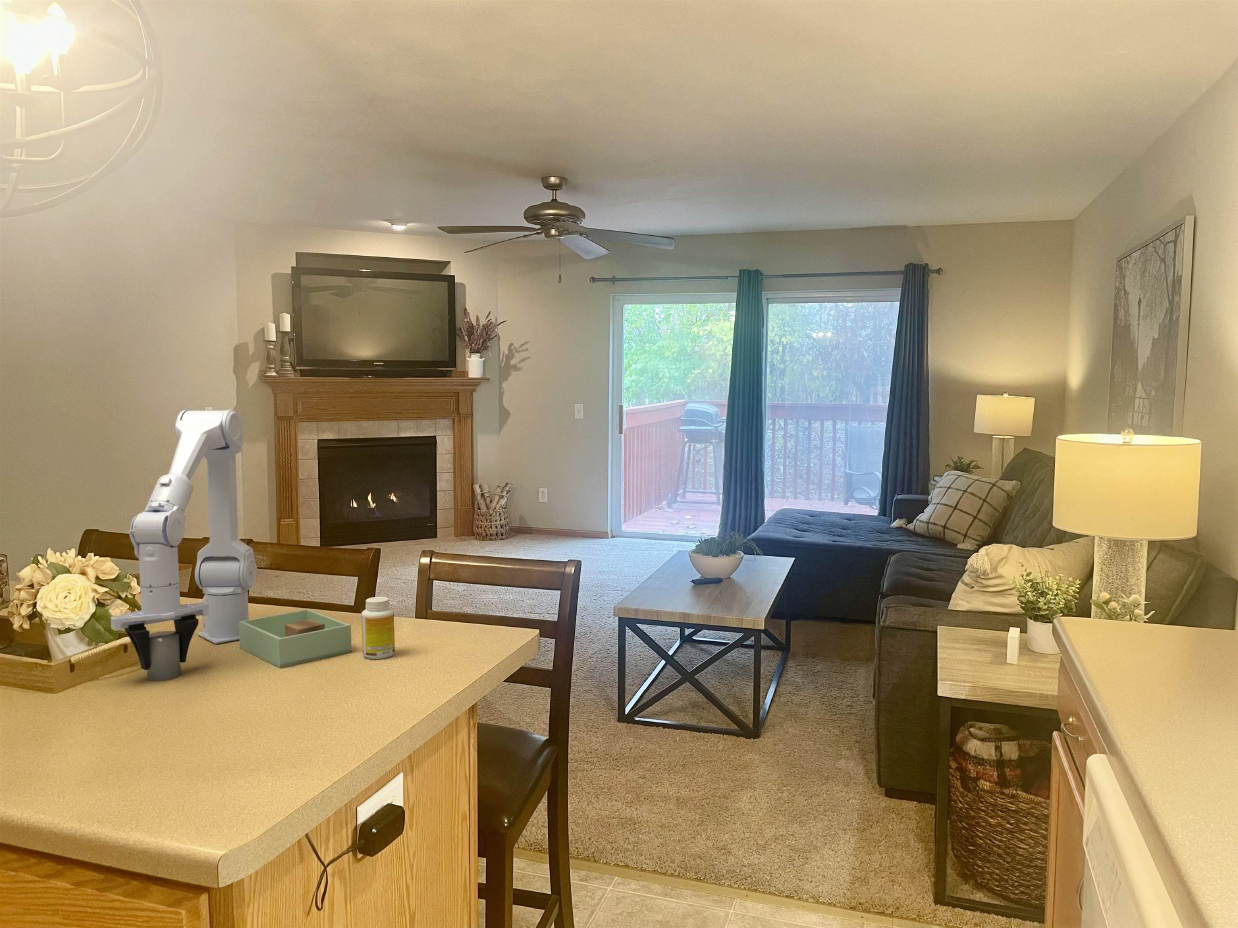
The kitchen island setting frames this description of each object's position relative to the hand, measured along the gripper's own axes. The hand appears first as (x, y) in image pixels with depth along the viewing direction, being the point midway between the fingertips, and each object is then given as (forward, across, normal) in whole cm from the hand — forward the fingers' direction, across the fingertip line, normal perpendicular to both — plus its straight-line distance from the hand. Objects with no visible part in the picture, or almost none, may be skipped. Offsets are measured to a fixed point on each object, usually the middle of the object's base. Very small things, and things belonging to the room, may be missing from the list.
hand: (163, 664), depth 148 cm
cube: (+1, +22, -5) cm, 23 cm away
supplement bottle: (+2, +31, -15) cm, 35 cm away
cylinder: (+2, 0, 0) cm, 2 cm away
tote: (+2, +22, -1) cm, 22 cm away
